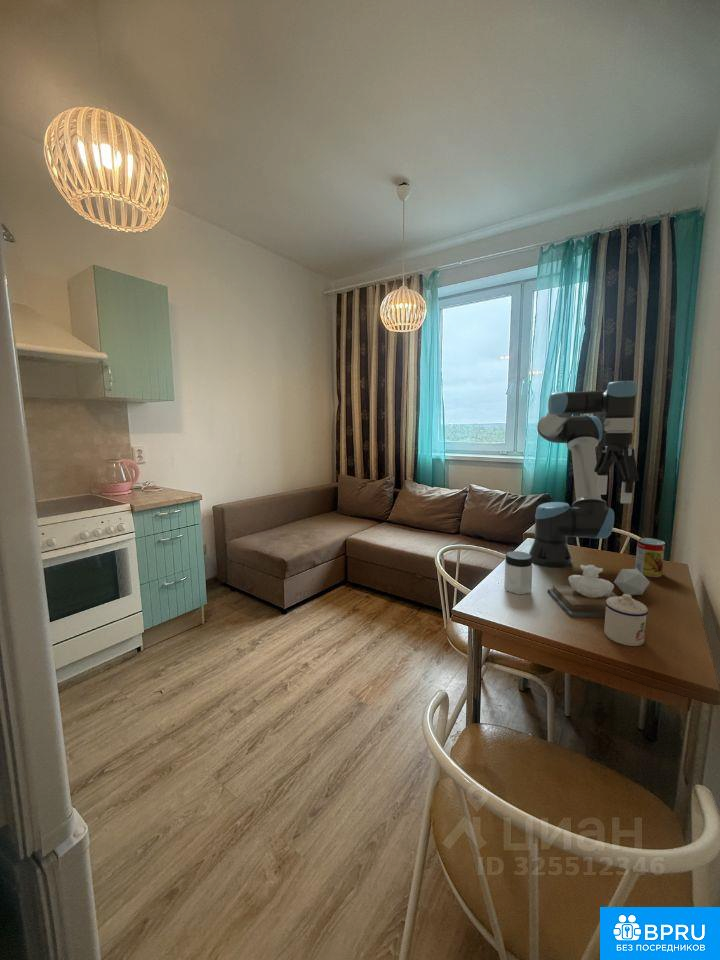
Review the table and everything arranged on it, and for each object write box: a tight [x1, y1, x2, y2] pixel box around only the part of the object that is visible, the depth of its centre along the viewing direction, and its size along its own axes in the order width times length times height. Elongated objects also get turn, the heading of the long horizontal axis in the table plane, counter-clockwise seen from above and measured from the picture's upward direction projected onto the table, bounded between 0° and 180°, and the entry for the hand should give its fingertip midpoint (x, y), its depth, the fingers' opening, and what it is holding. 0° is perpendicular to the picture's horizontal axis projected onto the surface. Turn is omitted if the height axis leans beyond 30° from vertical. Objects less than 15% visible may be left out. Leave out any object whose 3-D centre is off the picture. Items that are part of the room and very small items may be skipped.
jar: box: [503, 550, 533, 595], centre depth 128 cm, size 9×8×12 cm
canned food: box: [634, 537, 666, 578], centre depth 138 cm, size 8×8×12 cm
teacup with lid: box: [603, 593, 649, 647], centre depth 100 cm, size 12×9×12 cm
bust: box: [567, 563, 615, 598], centre depth 115 cm, size 12×8×11 cm
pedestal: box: [547, 584, 619, 618], centre depth 117 cm, size 16×18×3 cm
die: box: [613, 568, 650, 596], centre depth 123 cm, size 8×9×10 cm
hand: (613, 498), depth 123 cm, fingers open, 13 cm apart
